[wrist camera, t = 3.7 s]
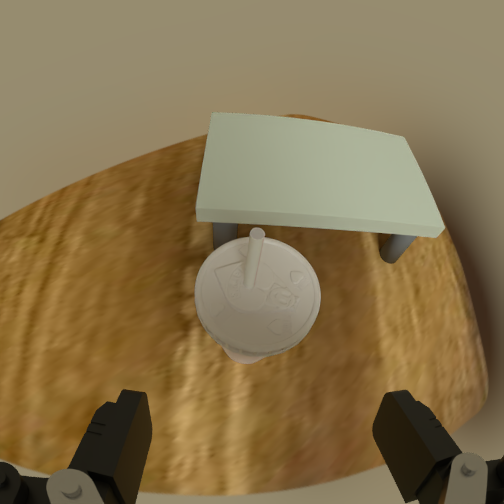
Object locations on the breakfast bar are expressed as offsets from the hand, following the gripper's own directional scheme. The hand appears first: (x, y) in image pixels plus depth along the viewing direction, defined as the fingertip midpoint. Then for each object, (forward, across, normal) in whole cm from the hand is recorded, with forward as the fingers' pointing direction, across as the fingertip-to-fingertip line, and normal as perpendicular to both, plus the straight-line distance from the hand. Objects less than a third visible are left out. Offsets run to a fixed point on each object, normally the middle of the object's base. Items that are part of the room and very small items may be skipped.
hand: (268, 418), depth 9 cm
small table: (+23, -6, -4) cm, 24 cm away
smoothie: (+14, 0, +5) cm, 15 cm away
